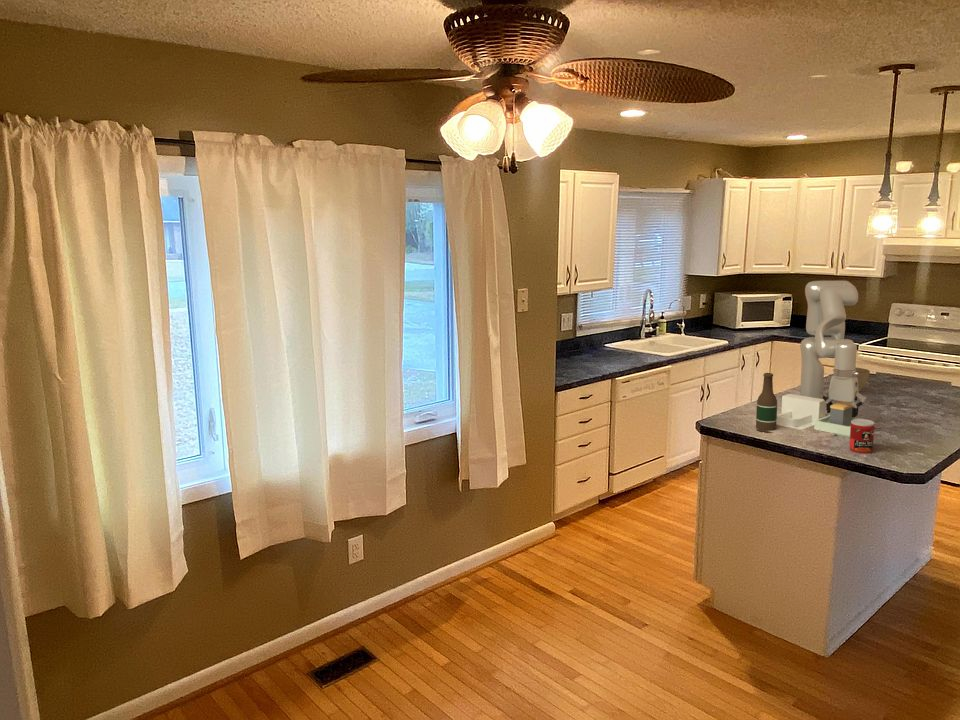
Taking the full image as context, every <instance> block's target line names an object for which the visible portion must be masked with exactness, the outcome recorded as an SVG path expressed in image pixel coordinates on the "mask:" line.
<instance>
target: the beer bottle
mask: <svg viewBox="0 0 960 720" xmlns="http://www.w3.org/2000/svg"><path fill="white" fill-rule="evenodd" d="M762 377H763V384H762V391H761V393H760V394H759V396H758V398H757V400H756V401H757V402H756V412H755V413H756V416H755V417H756V418H755V430H756V431H758V432H759V433H763V432H764V434H769V433H770V434H773V433H774V432H773V431H775V430H777V425H776V421H777V415H778V399H777V396H776V395H775V394H774V390H773V389H774V385H773V377H774V373H772V372H765V373H763V375H762Z"/></svg>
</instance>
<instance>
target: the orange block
mask: <svg viewBox="0 0 960 720" xmlns="http://www.w3.org/2000/svg"><path fill="white" fill-rule="evenodd" d="M830 408H831V410H830V413H829V415H830V423H833V424H838V425H843V426H851V420H853V418H852V408H854V407H853V405H852V404H851V403H849V402H842V401H838V402H836V403H833V405H831V406H830Z"/></svg>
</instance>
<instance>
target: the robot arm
mask: <svg viewBox="0 0 960 720" xmlns="http://www.w3.org/2000/svg"><path fill="white" fill-rule="evenodd" d="M804 294H805V299H806V302H807V311H806V312H807V313H806V323H805V330H806V333H807V334H808V335H811V337H806V338H803V339H802V340H801V342H800V355H801V370H800V371H801V372H800V391H799V393H800V394H799V395H800V396H806V397H812V398H819V399H824V400H825V402H826V413H827V414H830V410H831V408H830V406H831V405H833V404H834V403H833V401H837V402H846V403H851V404H852V405H853V408H852V418H854V417H855V418H858V415H859V408H860V407H861V406H863V405H864V403H865V402H866V400H867V397H865V396H864V395H863V394H861V392H859V388H858V379H857V377H855V376H856V375H859V372H856V370H855V368H857V352H858V345H857V344H856V343H855V342H854V341H853V340H852V339H847V338H845V332H846V322H845V321H846V320H847V314H846V309H845V306H849V307H850V306H855V305H856V304H857V303H858V301H859V292H858V290H857V287H856V286H855V285H854V284H852V283H851V282H850V281H848V280H813V281H809V282H808V283H807V284H806V285H805V288H804ZM813 336H814V337H813ZM824 336H825V337H824ZM826 336H827V337H826ZM819 359H834V362H833V363H834V364H833V365H834V367H833V369H834V371H833V375H831V378H830V381H829V382H830V383H829V388H827V389H825V390H824V379H825V367H824V364H823V363H822V362H821V361H820V360H819ZM827 394H828V396H827ZM859 399H860V401H859V402H858V400H859Z"/></svg>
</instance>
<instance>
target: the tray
mask: <svg viewBox="0 0 960 720" xmlns="http://www.w3.org/2000/svg"><path fill="white" fill-rule="evenodd" d="M853 419H861V418H859V417H854V418H853ZM850 428H851V426H843V425H838V424H833V423H830V414H828V415H825V417H823V418H820V419H818V420H815V422H814V425H813V430H817V431H821V432H825V433H830V434H831V433H832V434H833V436H836V437H839V438H844V439H849V440H850Z"/></svg>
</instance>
